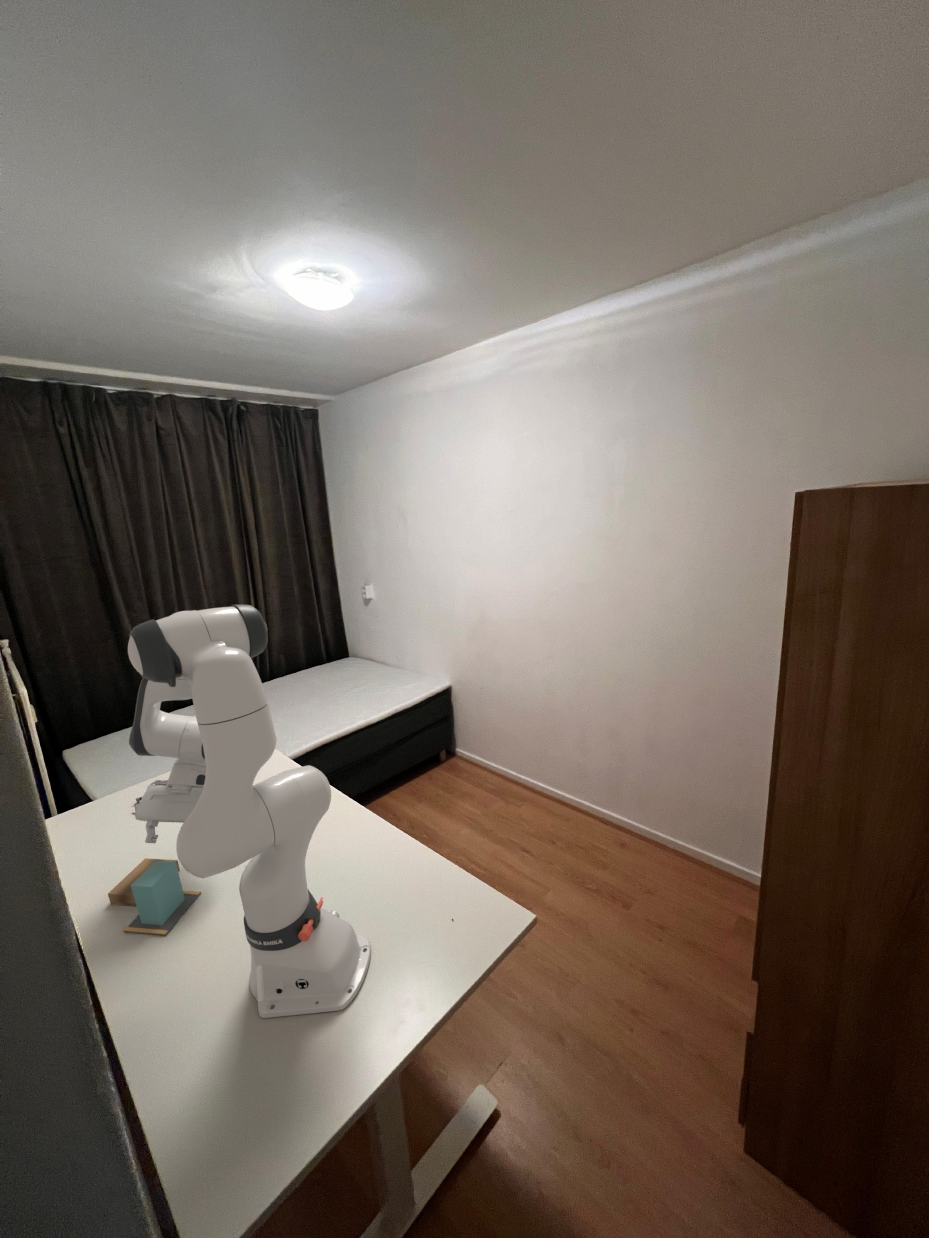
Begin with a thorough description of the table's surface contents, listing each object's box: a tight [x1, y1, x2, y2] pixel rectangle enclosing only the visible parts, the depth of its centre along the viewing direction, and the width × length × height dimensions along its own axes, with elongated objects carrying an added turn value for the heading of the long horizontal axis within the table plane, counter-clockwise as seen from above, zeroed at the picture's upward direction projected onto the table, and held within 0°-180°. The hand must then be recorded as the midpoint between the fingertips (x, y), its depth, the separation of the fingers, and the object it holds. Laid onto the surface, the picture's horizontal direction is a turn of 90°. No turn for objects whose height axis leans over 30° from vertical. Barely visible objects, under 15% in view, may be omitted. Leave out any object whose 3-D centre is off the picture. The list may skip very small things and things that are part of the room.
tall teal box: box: [131, 861, 185, 925], centre depth 106 cm, size 5×7×10 cm
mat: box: [122, 890, 202, 937], centre depth 107 cm, size 10×11×1 cm
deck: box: [107, 858, 181, 908], centre depth 114 cm, size 9×11×3 cm
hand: (168, 843), depth 109 cm, fingers open, 8 cm apart
